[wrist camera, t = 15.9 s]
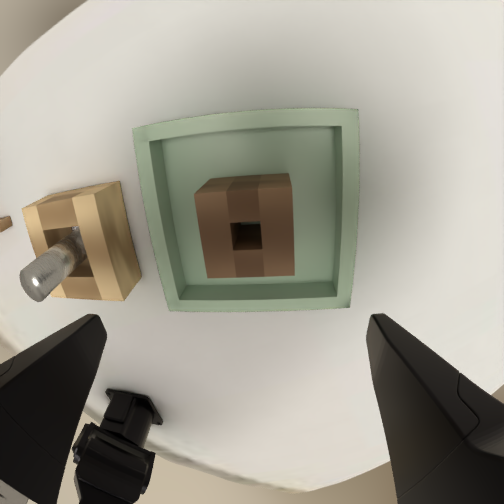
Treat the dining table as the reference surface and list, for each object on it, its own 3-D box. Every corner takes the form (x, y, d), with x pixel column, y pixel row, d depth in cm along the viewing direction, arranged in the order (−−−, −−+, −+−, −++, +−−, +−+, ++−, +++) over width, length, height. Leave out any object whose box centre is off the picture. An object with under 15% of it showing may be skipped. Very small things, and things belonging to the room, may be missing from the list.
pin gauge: (106, 247, 22) (49, 302, 14) (85, 249, 22) (28, 300, 15) (99, 220, 21) (35, 269, 13) (77, 223, 21) (15, 269, 14)
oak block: (141, 276, 22) (123, 301, 19) (71, 276, 23) (51, 296, 20) (119, 180, 19) (93, 193, 16) (47, 195, 20) (21, 208, 17)
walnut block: (291, 245, 20) (294, 275, 16) (219, 249, 20) (207, 278, 17) (288, 173, 18) (292, 187, 14) (210, 178, 18) (193, 194, 15)
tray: (343, 288, 21) (349, 307, 19) (178, 292, 23) (169, 311, 21) (347, 110, 16) (358, 109, 14) (148, 126, 17) (132, 128, 15)
